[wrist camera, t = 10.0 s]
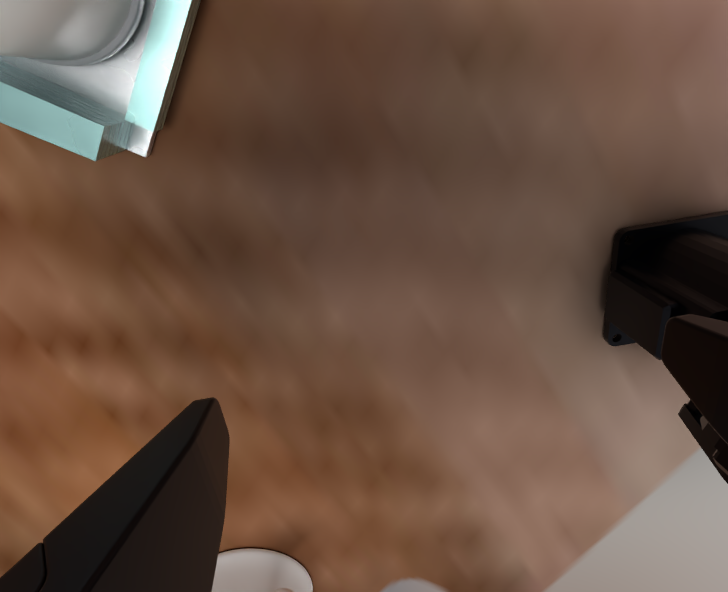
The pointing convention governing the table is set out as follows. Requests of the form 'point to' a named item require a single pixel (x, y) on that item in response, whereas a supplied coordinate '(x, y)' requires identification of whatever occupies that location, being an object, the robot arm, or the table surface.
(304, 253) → the table surface
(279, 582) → the mug
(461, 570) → the table surface
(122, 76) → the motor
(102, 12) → the white cylinder
